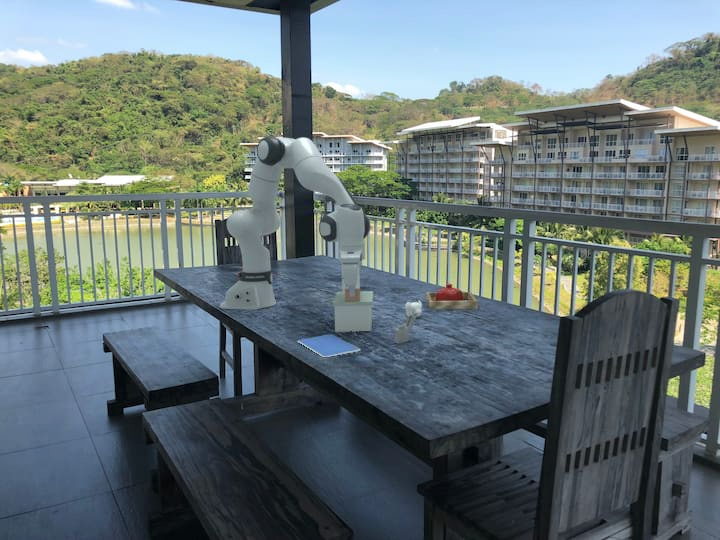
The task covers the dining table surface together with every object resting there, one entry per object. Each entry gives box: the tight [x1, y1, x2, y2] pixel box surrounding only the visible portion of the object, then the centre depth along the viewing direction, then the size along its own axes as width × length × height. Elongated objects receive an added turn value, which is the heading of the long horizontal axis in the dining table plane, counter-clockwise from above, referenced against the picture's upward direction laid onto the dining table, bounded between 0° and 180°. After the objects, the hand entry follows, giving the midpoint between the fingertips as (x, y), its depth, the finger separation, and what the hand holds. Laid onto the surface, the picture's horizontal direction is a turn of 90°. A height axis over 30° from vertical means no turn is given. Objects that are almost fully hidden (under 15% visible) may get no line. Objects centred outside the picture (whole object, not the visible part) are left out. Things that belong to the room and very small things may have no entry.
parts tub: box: [333, 305, 373, 333], centre depth 190 cm, size 12×16×9 cm
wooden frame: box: [425, 291, 479, 310], centre depth 219 cm, size 18×17×3 cm
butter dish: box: [434, 283, 468, 301], centre depth 219 cm, size 12×12×8 cm
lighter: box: [394, 315, 417, 345], centre depth 171 cm, size 7×2×8 cm, turn 123°
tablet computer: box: [297, 333, 362, 358], centre depth 167 cm, size 19×13×1 cm, turn 30°
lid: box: [332, 287, 374, 307], centre depth 189 cm, size 13×17×6 cm
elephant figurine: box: [404, 300, 423, 318], centre depth 200 cm, size 7×8×6 cm
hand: (352, 295), depth 182 cm, fingers closed on lid
